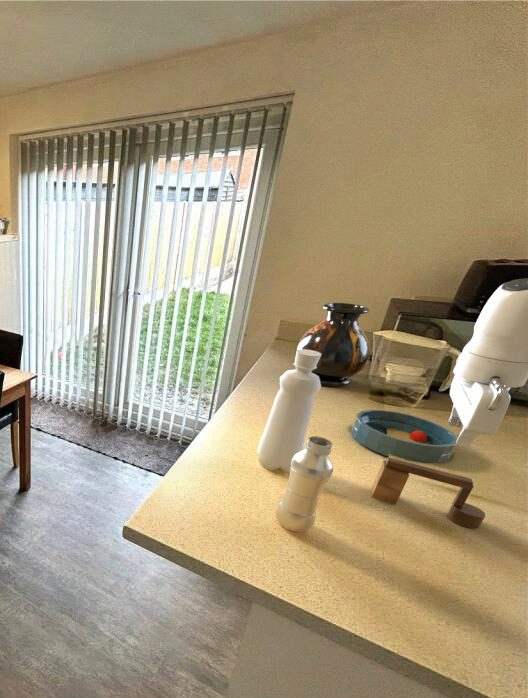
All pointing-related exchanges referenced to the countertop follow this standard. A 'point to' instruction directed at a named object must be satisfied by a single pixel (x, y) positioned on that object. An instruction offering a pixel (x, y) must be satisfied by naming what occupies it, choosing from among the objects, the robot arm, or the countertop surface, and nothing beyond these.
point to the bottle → (290, 413)
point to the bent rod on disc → (459, 509)
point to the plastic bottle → (305, 485)
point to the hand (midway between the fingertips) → (457, 434)
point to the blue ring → (374, 436)
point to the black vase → (338, 344)
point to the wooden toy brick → (389, 484)
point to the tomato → (418, 436)
